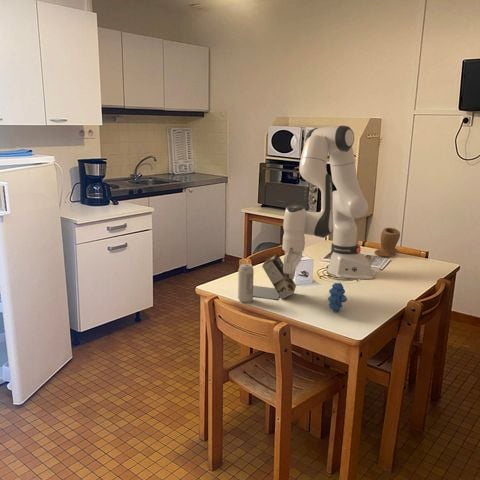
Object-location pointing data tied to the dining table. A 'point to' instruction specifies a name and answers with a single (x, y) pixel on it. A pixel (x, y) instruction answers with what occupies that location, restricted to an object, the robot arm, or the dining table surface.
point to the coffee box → (279, 276)
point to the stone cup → (388, 242)
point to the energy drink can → (245, 283)
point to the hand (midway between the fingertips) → (291, 277)
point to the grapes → (336, 297)
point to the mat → (265, 292)
